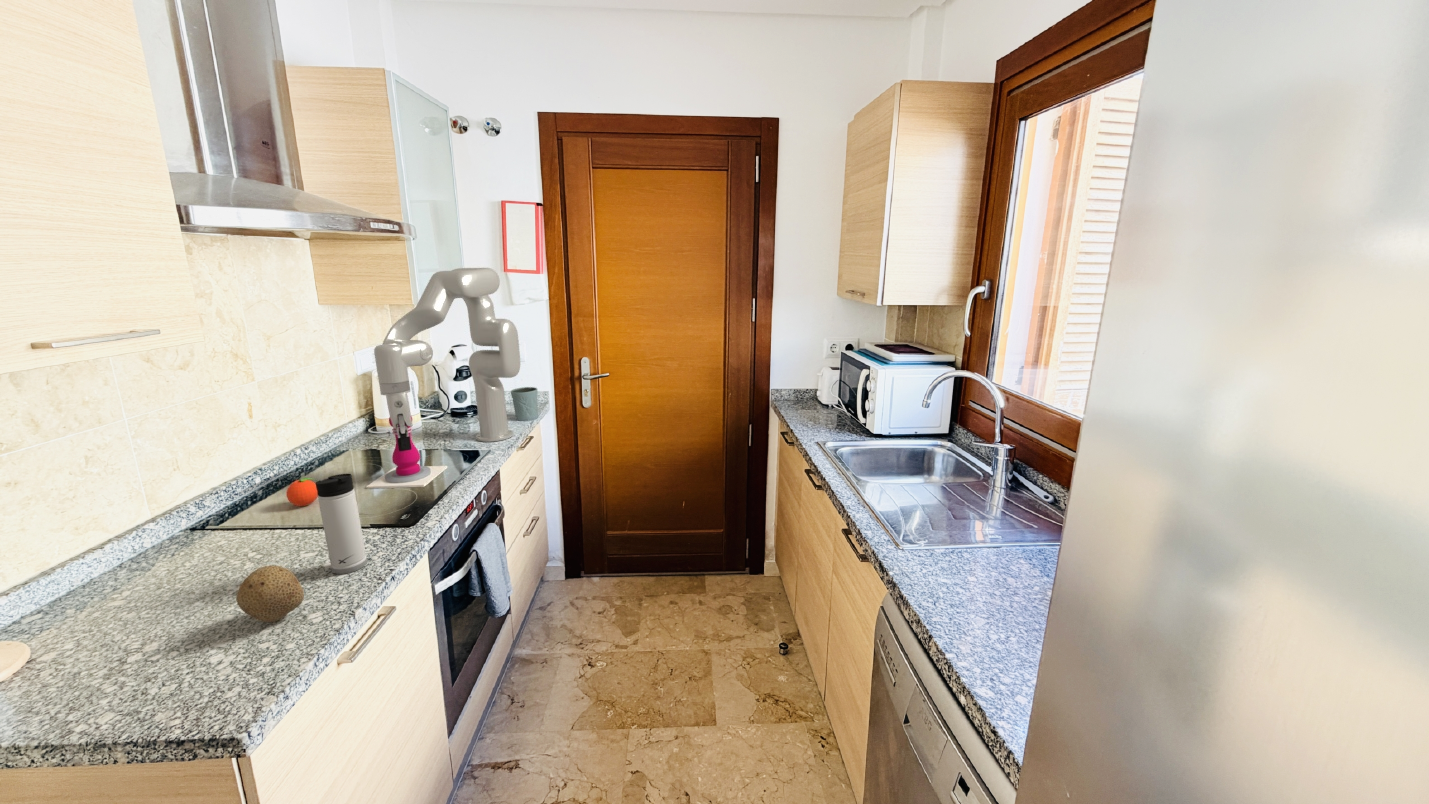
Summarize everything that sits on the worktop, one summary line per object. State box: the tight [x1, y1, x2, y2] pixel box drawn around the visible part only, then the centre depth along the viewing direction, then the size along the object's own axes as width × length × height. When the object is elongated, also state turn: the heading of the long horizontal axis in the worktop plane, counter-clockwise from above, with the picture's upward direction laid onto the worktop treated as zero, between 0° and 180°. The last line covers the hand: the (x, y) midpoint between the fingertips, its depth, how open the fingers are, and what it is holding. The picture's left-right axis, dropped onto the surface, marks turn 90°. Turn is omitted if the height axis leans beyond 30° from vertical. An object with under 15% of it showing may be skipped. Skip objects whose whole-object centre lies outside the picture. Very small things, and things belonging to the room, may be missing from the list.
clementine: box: [285, 477, 319, 507], centre depth 154 cm, size 8×7×7 cm
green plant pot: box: [510, 386, 539, 422], centre depth 235 cm, size 10×10×12 cm
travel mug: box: [315, 473, 368, 575], centre depth 119 cm, size 6×7×20 cm
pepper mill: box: [388, 414, 421, 476], centre depth 170 cm, size 7×7×20 cm
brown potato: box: [236, 565, 305, 623], centre depth 103 cm, size 9×9×10 cm
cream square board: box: [365, 465, 448, 490], centre depth 172 cm, size 16×16×2 cm
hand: (404, 446), depth 170 cm, fingers open, 8 cm apart
